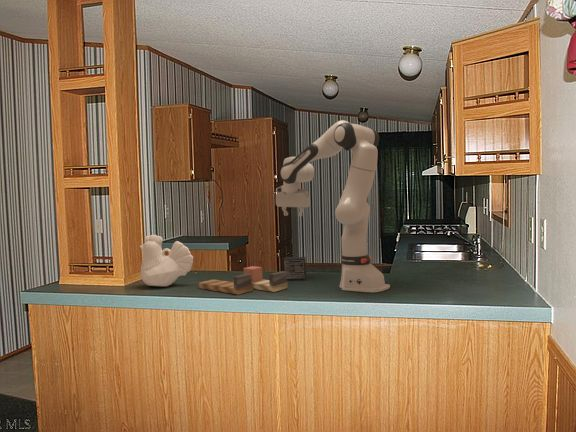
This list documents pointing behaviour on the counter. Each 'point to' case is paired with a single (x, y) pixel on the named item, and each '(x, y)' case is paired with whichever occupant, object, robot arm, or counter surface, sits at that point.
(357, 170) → the robot arm
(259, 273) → the brick block
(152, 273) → the decorative rooster
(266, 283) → the birch strip
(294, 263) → the small box
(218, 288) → the oak strip
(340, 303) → the counter surface
